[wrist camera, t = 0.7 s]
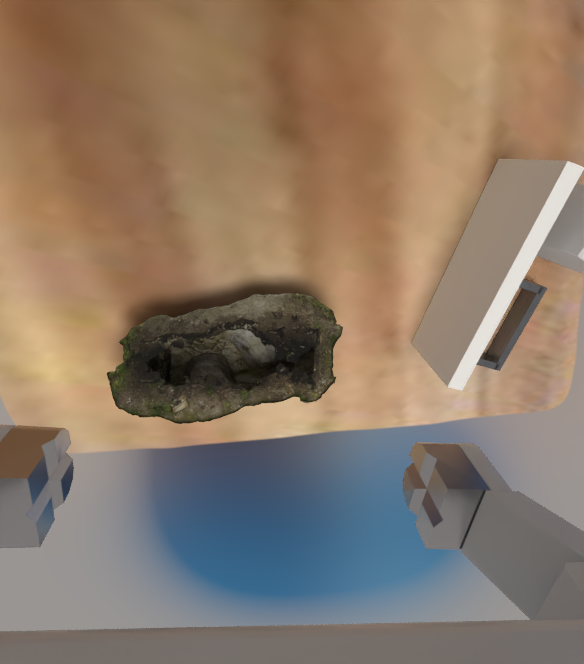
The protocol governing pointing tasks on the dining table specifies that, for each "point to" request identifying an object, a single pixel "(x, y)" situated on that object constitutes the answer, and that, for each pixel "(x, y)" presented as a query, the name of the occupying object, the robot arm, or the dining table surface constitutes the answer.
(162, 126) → the dining table surface
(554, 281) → the dining table surface
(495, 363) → the cleat bracket
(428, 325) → the wall board
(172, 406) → the hollow geode rock
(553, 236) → the milk carton
